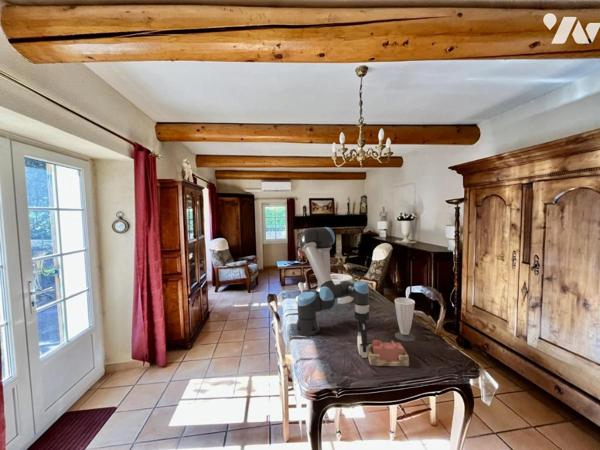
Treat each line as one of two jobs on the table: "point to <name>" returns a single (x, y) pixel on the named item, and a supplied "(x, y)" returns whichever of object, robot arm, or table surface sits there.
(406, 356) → the cradle
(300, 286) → the potted plant
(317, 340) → the table surface
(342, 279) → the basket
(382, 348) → the red notched block
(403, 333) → the cup
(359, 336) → the white block
